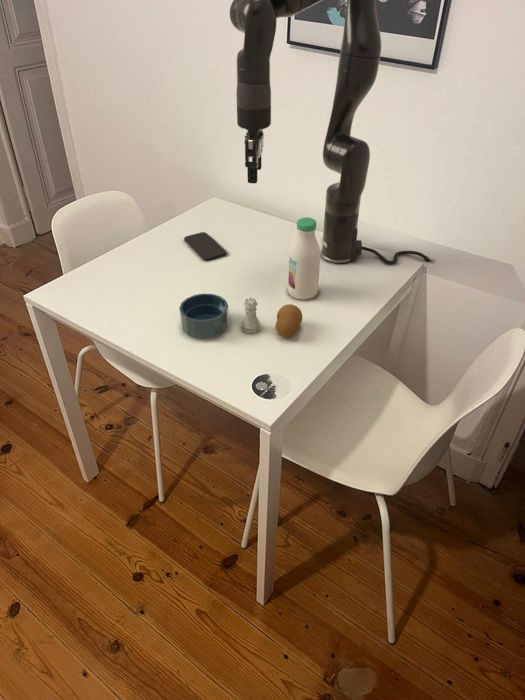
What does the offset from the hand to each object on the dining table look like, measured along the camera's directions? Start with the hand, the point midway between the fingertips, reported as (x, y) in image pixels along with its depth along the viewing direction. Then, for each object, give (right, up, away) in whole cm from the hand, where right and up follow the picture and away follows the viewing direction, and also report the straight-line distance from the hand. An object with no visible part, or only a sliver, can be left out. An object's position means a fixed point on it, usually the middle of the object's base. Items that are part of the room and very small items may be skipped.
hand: (254, 175), depth 126 cm
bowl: (-12, -36, +1) cm, 38 cm away
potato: (+8, -37, -1) cm, 38 cm away
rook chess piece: (-1, -36, 0) cm, 36 cm away
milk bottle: (+12, -27, +12) cm, 32 cm away
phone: (-15, -11, +31) cm, 36 cm away
